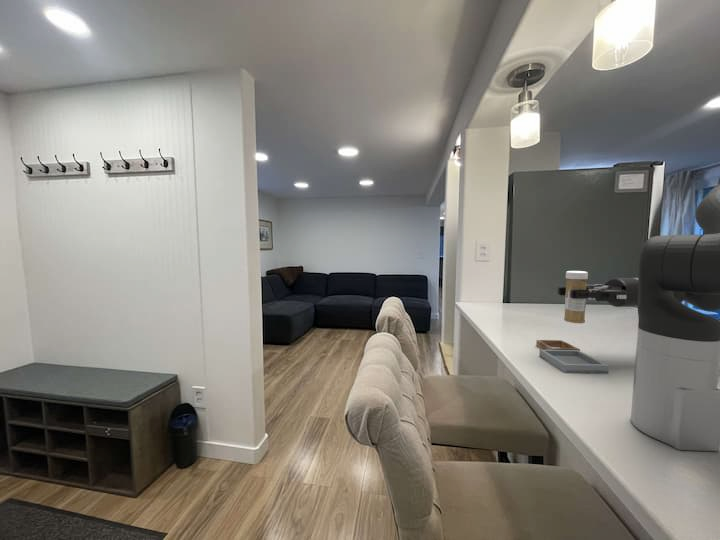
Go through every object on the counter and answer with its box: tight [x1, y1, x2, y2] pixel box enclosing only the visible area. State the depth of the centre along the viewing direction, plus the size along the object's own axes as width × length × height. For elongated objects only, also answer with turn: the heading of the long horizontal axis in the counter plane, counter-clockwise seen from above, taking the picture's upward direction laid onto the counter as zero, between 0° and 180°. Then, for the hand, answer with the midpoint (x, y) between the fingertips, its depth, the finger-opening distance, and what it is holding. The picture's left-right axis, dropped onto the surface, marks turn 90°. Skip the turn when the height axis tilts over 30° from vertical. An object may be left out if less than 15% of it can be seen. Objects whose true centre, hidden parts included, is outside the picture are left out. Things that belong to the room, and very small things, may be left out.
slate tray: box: [539, 349, 610, 374], centre depth 76 cm, size 11×11×2 cm
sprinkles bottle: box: [563, 270, 589, 325], centre depth 74 cm, size 5×5×14 cm
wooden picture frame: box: [535, 339, 581, 351], centre depth 85 cm, size 8×8×2 cm
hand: (565, 292), depth 74 cm, fingers closed on sprinkles bottle, 4 cm apart
